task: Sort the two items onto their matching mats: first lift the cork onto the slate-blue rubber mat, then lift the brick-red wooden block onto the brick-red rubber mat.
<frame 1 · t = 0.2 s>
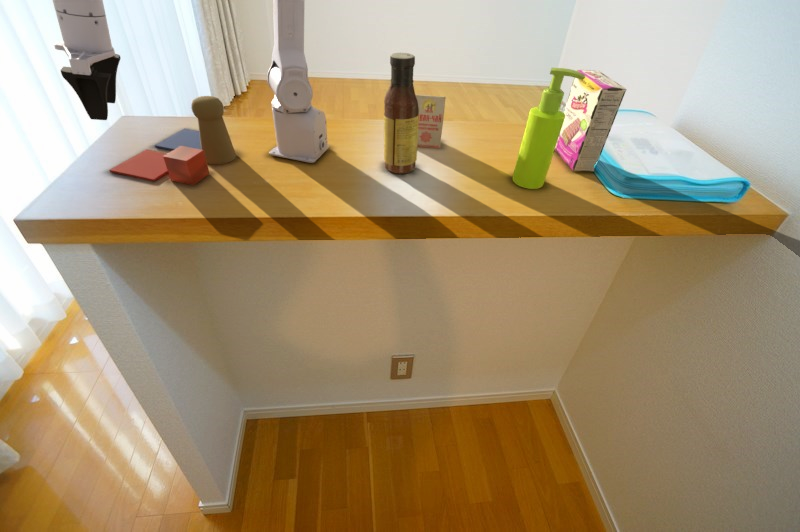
hand: (103, 110, 66), 11 cm above the table, tool pointing down, fingers open, 7 cm apart
blue mat: (190, 142, 83), on the table
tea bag: (423, 144, 89), on the table
candy bar box: (571, 160, 87), on the table
cork: (219, 158, 79), on the table
red mat: (150, 165, 75), on the table
sauce bottle: (398, 168, 80), on the table
red block: (190, 177, 72), on the table
soap dispenser: (530, 182, 79), on the table
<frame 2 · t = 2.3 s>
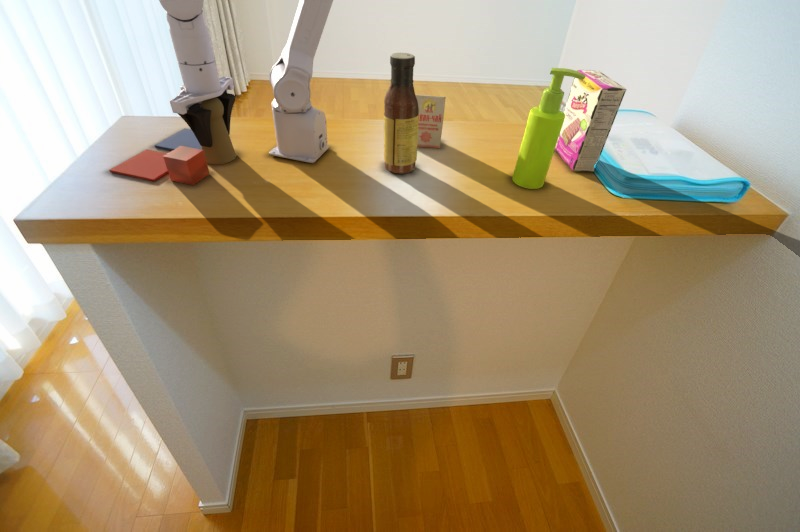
hand: (215, 140, 77), 3 cm above the table, tool pointing down, fingers closed on cork, 5 cm apart
cork: (219, 158, 79), on the table, touching gripper
everything else where it was.
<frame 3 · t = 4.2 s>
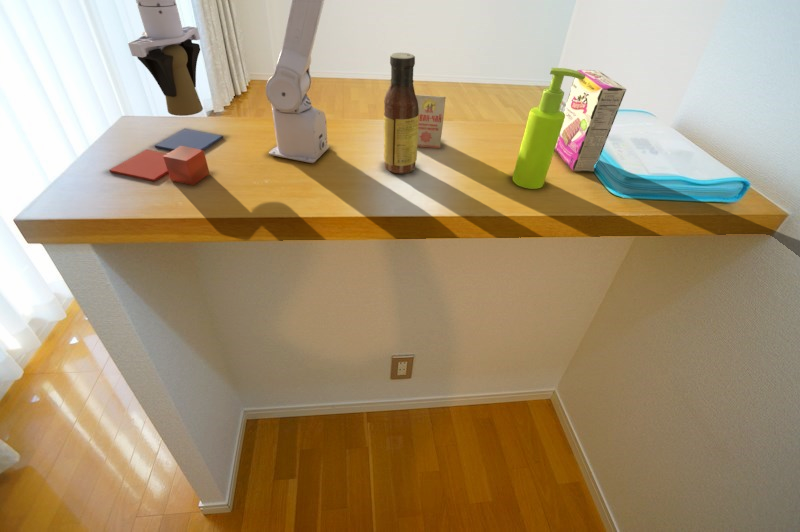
hand: (180, 91, 75), 10 cm above the table, tool pointing down, fingers closed on cork, 5 cm apart
cork: (185, 110, 78), point 7 cm above the table, touching gripper
everything else where it was.
when the fingers open (4 cm above the table, at t = 6.3 s): cork stays where it is, resting on blue mat.
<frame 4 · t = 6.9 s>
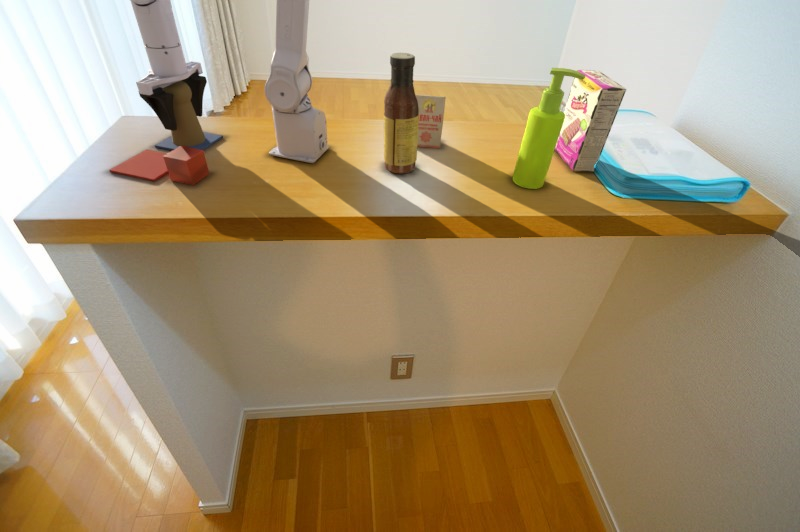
hand: (184, 122, 80), 4 cm above the table, tool pointing down, fingers open, 7 cm apart
cork: (189, 141, 83), resting on blue mat
everything else where it was.
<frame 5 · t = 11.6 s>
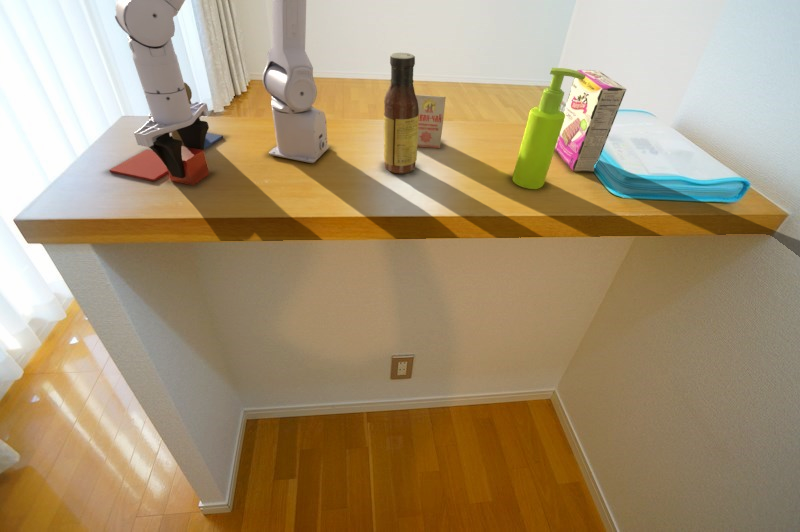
hand: (188, 169, 71), 1 cm above the table, tool pointing down, fingers closed on red block, 4 cm apart
red block: (190, 177, 72), on the table, touching gripper
everything else where it was.
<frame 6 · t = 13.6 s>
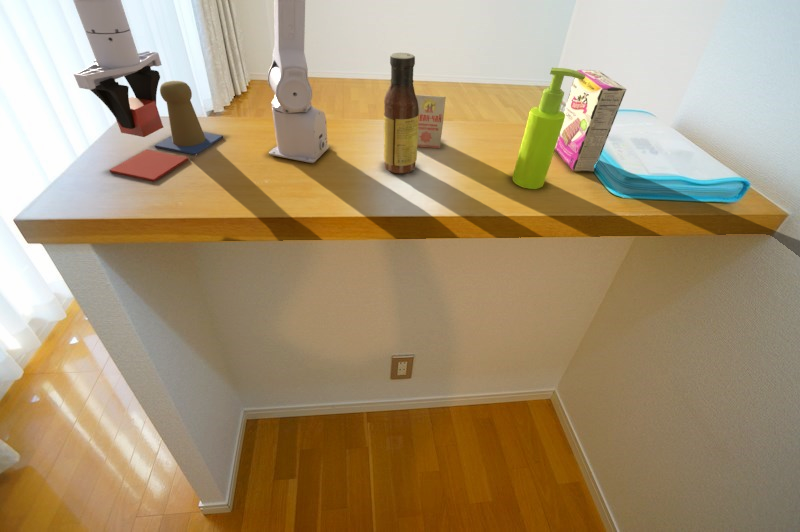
hand: (140, 121, 69), 8 cm above the table, tool pointing down, fingers closed on red block, 4 cm apart
red block: (142, 130, 70), point 7 cm above the table, touching gripper
everything else where it was.
when the fingers open (2 cm above the table, at t = 15.7 s): red block stays where it is, resting on red mat.
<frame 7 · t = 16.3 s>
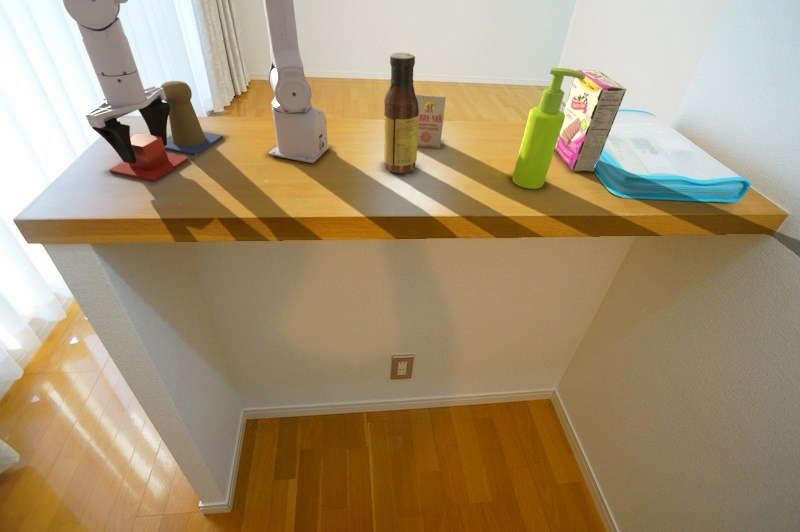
hand: (146, 152, 73), 2 cm above the table, tool pointing down, fingers open, 7 cm apart
red block: (149, 163, 74), resting on red mat
everything else where it was.
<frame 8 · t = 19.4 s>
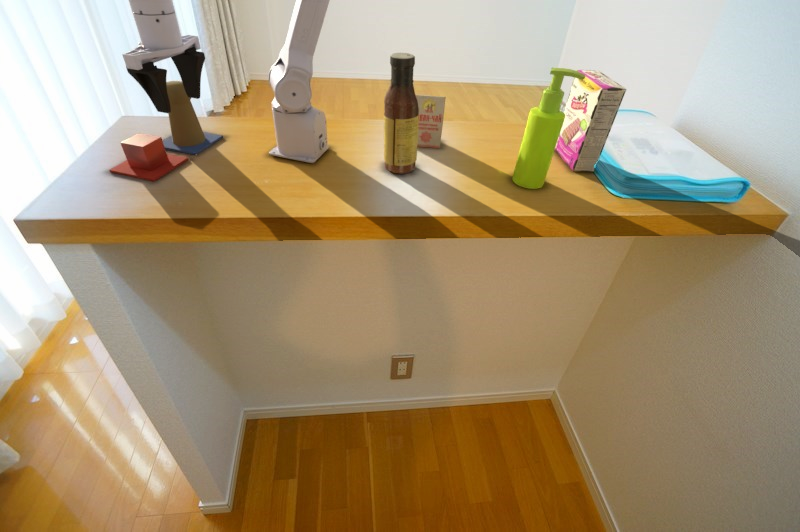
hand: (179, 104, 70), 10 cm above the table, tool pointing down, fingers open, 7 cm apart
nothing on the table moved.
at the end: cork inside the target area on the blue mat (0.0 cm from its centre), point 0.2 cm above the blue mat's base; red block inside the target area on the red mat (0.0 cm from its centre), point 0.4 cm above the red mat's base; cork tilted 0° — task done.
